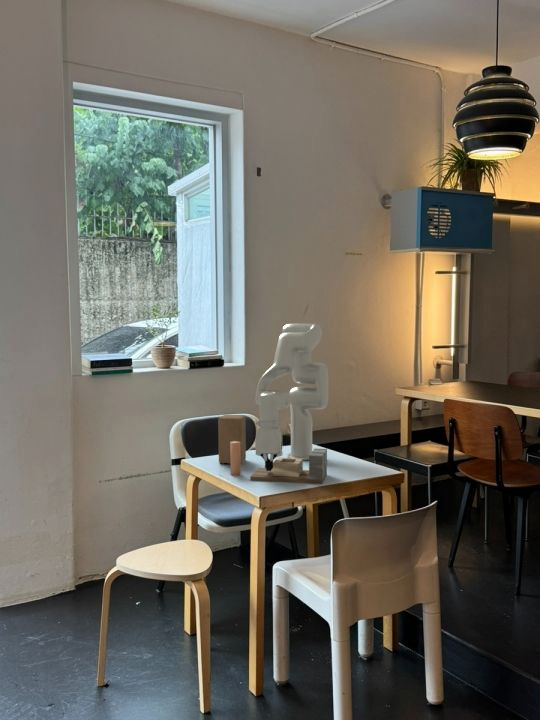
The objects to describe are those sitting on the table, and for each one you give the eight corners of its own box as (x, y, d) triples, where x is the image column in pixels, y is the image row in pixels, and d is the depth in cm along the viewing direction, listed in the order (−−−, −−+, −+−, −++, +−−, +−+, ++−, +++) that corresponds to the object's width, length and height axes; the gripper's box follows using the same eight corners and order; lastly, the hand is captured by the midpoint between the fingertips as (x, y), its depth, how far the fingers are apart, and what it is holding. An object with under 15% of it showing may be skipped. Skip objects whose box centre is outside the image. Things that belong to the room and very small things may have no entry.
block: (240, 465, 293) (240, 418, 292) (218, 464, 295) (217, 417, 294) (246, 459, 303) (246, 414, 301) (224, 458, 305) (223, 414, 303)
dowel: (232, 472, 280) (231, 441, 279) (241, 473, 279) (241, 441, 278) (229, 475, 276) (229, 443, 275) (239, 475, 275) (238, 443, 274)
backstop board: (258, 471, 281) (258, 446, 281) (326, 474, 276) (326, 448, 275) (250, 480, 268) (250, 453, 267) (322, 483, 262) (322, 456, 261)
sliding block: (278, 469, 278) (278, 457, 277) (302, 470, 275) (302, 458, 275) (273, 475, 268) (273, 463, 267) (298, 476, 266) (298, 464, 265)
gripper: (248, 425, 270) (248, 471, 271) (285, 426, 266) (285, 473, 268) (252, 422, 277) (253, 467, 278) (289, 423, 274) (289, 468, 275)
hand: (269, 470), depth 273 cm, fingers closed
